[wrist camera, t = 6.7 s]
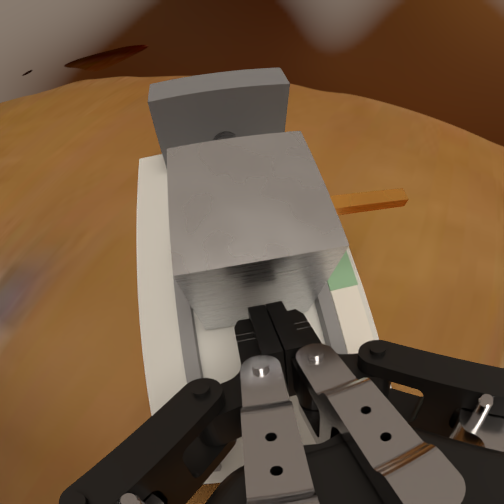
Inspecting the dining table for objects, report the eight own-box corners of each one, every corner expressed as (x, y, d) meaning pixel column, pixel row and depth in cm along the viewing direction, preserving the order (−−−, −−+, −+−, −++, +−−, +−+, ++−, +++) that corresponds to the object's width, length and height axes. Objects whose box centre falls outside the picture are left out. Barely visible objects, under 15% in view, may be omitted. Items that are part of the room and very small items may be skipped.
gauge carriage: (205, 330, 17) (172, 275, 9) (187, 181, 21) (167, 91, 14) (381, 293, 18) (449, 226, 11) (328, 163, 23) (351, 78, 15)
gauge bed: (171, 480, 13) (120, 529, 6) (142, 168, 24) (115, 92, 17) (392, 431, 15) (474, 440, 8) (299, 144, 26) (312, 66, 18)
